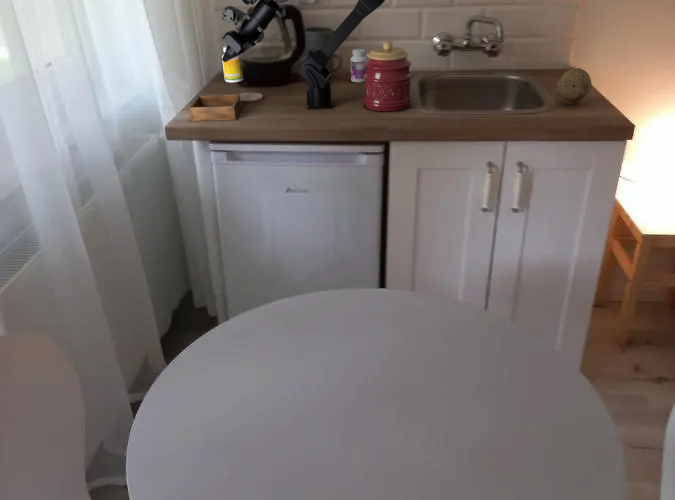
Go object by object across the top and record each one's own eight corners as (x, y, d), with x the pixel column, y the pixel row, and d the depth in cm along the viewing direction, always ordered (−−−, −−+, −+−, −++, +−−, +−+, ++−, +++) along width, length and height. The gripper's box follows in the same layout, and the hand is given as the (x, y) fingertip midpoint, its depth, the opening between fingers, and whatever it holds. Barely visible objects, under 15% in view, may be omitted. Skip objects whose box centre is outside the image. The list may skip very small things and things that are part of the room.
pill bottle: (348, 79, 205) (348, 49, 200) (363, 77, 206) (363, 47, 201) (353, 83, 200) (353, 52, 195) (369, 81, 201) (369, 50, 197)
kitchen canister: (395, 96, 185) (396, 34, 176) (418, 107, 175) (421, 42, 166) (356, 103, 180) (355, 39, 172) (377, 114, 170) (378, 48, 161)
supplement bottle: (223, 79, 183) (219, 45, 178) (242, 77, 184) (238, 43, 179) (226, 83, 178) (221, 49, 173) (245, 81, 179) (241, 47, 175)
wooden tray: (241, 106, 181) (240, 94, 179) (235, 119, 170) (234, 106, 168) (199, 107, 181) (197, 95, 179) (190, 120, 170) (188, 107, 168)
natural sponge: (589, 110, 169) (596, 72, 164) (555, 108, 171) (560, 71, 166) (586, 100, 176) (592, 64, 171) (553, 99, 178) (558, 63, 173)
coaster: (264, 93, 192) (264, 92, 192) (261, 101, 184) (261, 100, 184) (235, 94, 192) (235, 92, 192) (231, 102, 185) (231, 101, 184)
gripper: (249, -9, 177) (218, 31, 185) (225, 0, 161) (192, 44, 169) (278, 20, 179) (246, 59, 187) (257, 32, 163) (223, 74, 171)
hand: (227, 58), depth 178 cm, fingers closed on supplement bottle, 5 cm apart
